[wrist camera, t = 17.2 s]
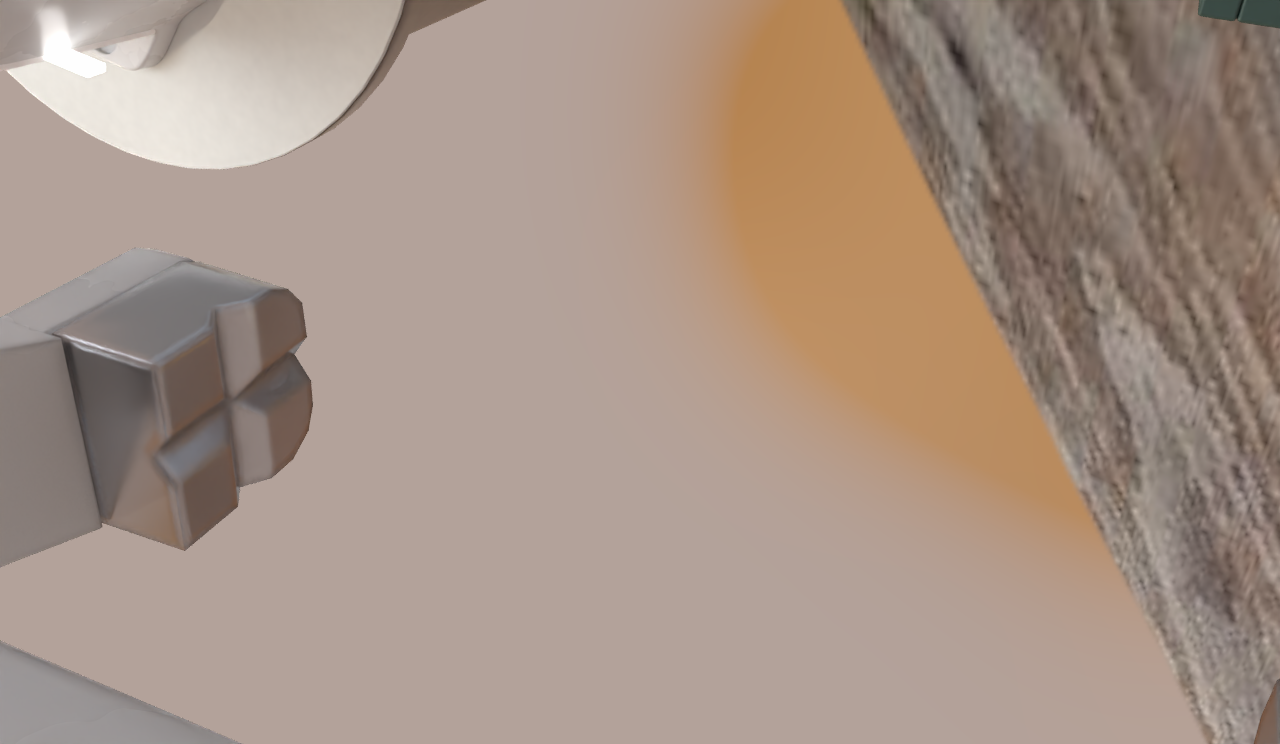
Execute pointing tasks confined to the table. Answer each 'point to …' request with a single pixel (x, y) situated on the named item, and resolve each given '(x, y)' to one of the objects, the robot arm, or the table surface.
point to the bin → (1243, 11)
